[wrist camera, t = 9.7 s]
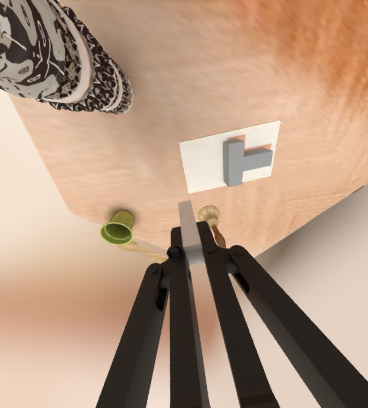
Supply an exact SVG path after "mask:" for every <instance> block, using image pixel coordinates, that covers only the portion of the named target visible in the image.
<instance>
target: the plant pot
mask: <svg viewBox="0 0 368 408" xmlns="http://www.w3.org/2000/svg"><path fill="white" fill-rule="evenodd" d="M133 220H134V217H133V215H132V214H131V213H130V212H127V211H124V210H122V211H119V212H117V213H116V214H115V216H114V217H113V218H112V219H111V220H110V221H109V222H108V223H106V224H104V225H103V226H102V227H101V229H100V235H101V237H102V238H103V239H104V240H105V241H106V242H108V243H111V244H114V245H125V244H127V243H129V242H130V241H131V240H132V238H133V232H132V226H133Z"/></svg>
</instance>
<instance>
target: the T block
mask: <svg viewBox="0 0 368 408" xmlns="http://www.w3.org/2000/svg"><path fill="white" fill-rule="evenodd" d="M244 145H245V141H243V140H239V139H234V140H230V141H225V142H223V176H224V182H225V183H226V185H227V186H228V187H232V186H237V185H241V184H242V178H243V171H248V170H252V169H257V168H262V167H266V166H271V162H272V156H273V151H272V150H269V149H265V148H261V149H256V150H251V151H247V152H244Z"/></svg>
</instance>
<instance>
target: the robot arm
mask: <svg viewBox="0 0 368 408" xmlns="http://www.w3.org/2000/svg"><path fill="white" fill-rule="evenodd" d="M178 206H179V215H180V224H181V226H180V227H176V228H172V231H171V247H169V249H168V250H167V255H168V257H169V258H168V260H166V261H165V262H163V263H161V264H159V263H153V264H151V265H150V266H149V267H148V268H147V270H146V272H145V275H144V278H143V280H142V283H141V286H140V289H139V291H138V294H137V297H136V300H135V302H134V305H133V307H132V310H131V313H130V316H129V318H128V321H127V324H126V326H125V329H124V332H123V335H122V337H121V340H120V343H119V346H118V348H117V351H116V354H115V356H114V359H113V362H112V365H111V367H110V370H109V373H108V375H107V378H106V381H105V383H104V386H103V389H102V391H101V394H100V397H99V400H98V402H97V405H96V408H146V404H147V399H148V394H149V389H150V384H151V380H152V374H153V369H154V365H155V359H156V355H157V349H158V344H159V339H160V335H161V330H162V325H163V320H164V315H165V310H166V305H167V300H168V295H169V290H170V408H211V407H210V403H209V398H208V391H207V384H206V377H205V370H204V364H203V356H202V349H201V342H200V335H199V328H198V321H197V314H196V308H195V300H194V293H193V286H192V279H191V272H190V269H189V266H190V265H195V264H200V263H204V262H205V264H206V268H207V273H208V277H209V281H210V285H211V289H212V293H213V297H214V301H215V305H216V310H217V313H218V318H219V322H220V326H221V330H222V334H223V338H224V343H225V347H226V351H227V354H228V359H229V363H230V367H231V371H232V375H233V379H234V383H235V388H236V391H237V396H238V400H239V404H240V408H280V406H279V404H278V402H277V400H276V398H275V396H274V394H273V392H272V390H271V388H270V385H269V382H268V380H267V377H266V374H265V372H264V369H263V366H262V364H261V361H260V358H259V356H258V353H257V350H256V348H255V345H254V343H253V340H252V337H251V334H250V332H249V329H248V327H247V324H246V321H245V318H244V315H243V313H242V310H241V307H240V305H239V302H238V300H237V297H236V294H235V291H234V289H233V286H232V283H231V281H230V278H229V276H228V273H231V274H232V276H233V277H234V278H235V280H236V282H237V283H238V285H239V286H240V287H241V289H242V291H243V292H244V293H245V295H246V296H247V298H248V299H249V301H250V302H251V304H252V305H253V307H254V308H255V310H256V311H257V313H258V314H259V316H260V317H261V319H262V320H263V322H264V323H265V324H266V326H267V328H268V329H269V331H270V332H271V334H272V335H273V337H274V338H275V340H276V341H277V343H278V344H279V346H280V347H281V349H282V350H283V352H284V353H285V354H286V356H287V357H288V359H289V360H290V362H291V363H292V365H293V366H294V368H295V369H296V371H297V372H298V374H299V375H300V377H301V378H302V380H303V381H304V383H305V384H306V385H307V387H308V389H309V390H310V391H311V393H312V394H313V396H314V398H315V399H316V401H317V402H318V404H319V405H320V406H321V408H368V381H367V380H366V379H365V378H364V377H363V376H362V375H361V374H360V373H359V372H358V371H357V369H356V368H355V367H354V366H353V365H352V364H351V363H350V362H349V361H348V360H347V359H346V357H345V356H344V355H343V354H342V353H341V352H340V351H339V350H338V349H337V348H336V347H335V346H334V344H332V342H331V341H330V340H329V339H328V338H327V337H326V336H325V335H324V334H323V333H322V331H321V330H320V329H319V328H318V327H317V326H316V325H315V324H314V323H313V322H312V321H311V320H310V318H309V317H308V316H307V315H306V314H305V313H304V312H303V311H302V310H301V309H300V308H299V307H298V306H297V304H296V303H294V301H293V300H292V299H291V298H290V297H289V296H288V295H287V294H286V293H285V291H284V290H283V289H282V288H281V287H280V286H279V285H278V284H277V283H276V282H275V281H274V280H273V278H272V277H271V276H270V275H269V274H268V273H267V272H266V271H265V270H264V269H263V268H262V267H261V265H260V264H259V263H258V262H257V261H256V260H255V259H254V258H253V257H252V256H251V255H250V253H249V252H248V251H247V250H246V249H245V248H244V247H242V246H239V245H234V246H232V247H230V249H228V248H221V247H219V246H218V245H217V244H216V243H215V240H214V238H213V235H212V232H211V230H210V227H209V224H208V223H207V222H206V221H201V222H196V221H195V217H194V213H193V209H192V205H191V201H190V200H188V201H184V202H180V203H178Z"/></svg>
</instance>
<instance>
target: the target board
mask: <svg viewBox="0 0 368 408" xmlns="http://www.w3.org/2000/svg"><path fill="white" fill-rule="evenodd" d="M280 121H281V120H279V121H274V122H270V123H265V124H261V125H256V126H252V127H247V128H243V129H238V130H234V131H229V132H225V133H220V134H216V135H211V136H207V137H202V138H198V139H193V140H188V141H184V142H179V147H180V152H181V157H182V162H183V167H184V173H185V178H186V183H187V188H188V193H194V192H199V191H203V190H208V189H213V188H217V187H222V186H227V185H226V183H225V182H224V176H223V142H225V141H230V140H234V139H239V140H243V141H245V145H244V152H247V151H251V150H256V149H261V148H265V149H269V150H272V151H273V156H272V162H271V166H266V167H262V168H257V169H252V170H248V171H243V178H242V182H245V181H250V180H254V179H259V178H264V177H268V176H271V171H272V165H273V160H274V154H275V149H276V143H277V138H278V132H279V127H280Z"/></svg>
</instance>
